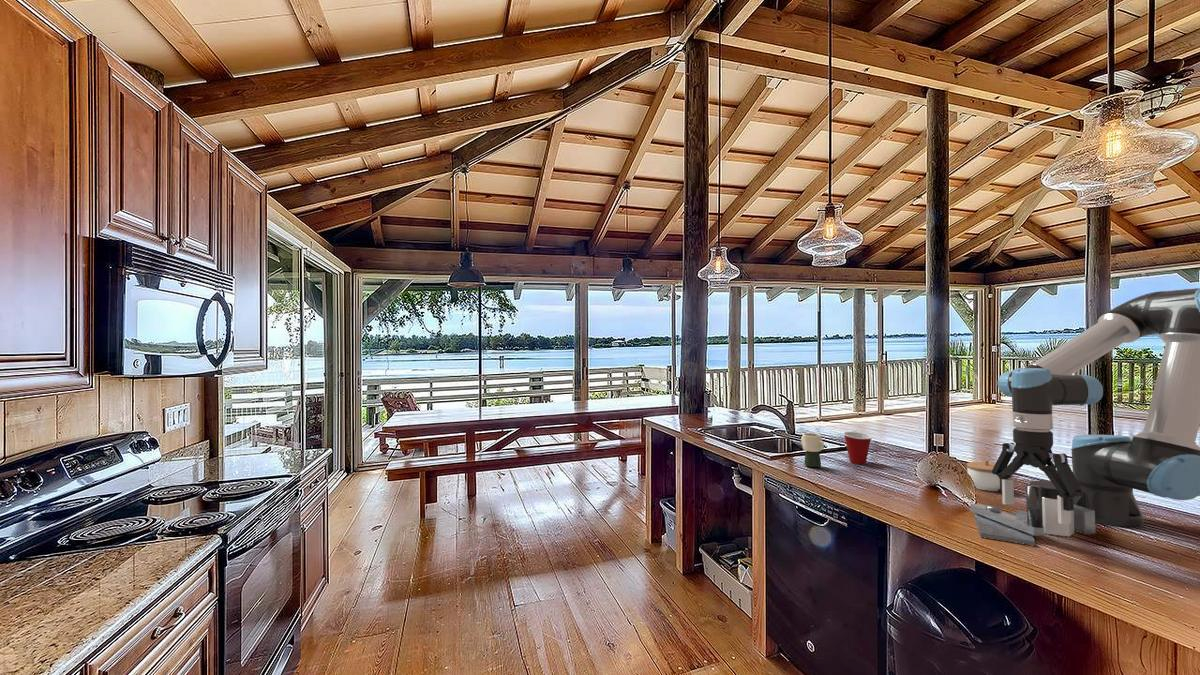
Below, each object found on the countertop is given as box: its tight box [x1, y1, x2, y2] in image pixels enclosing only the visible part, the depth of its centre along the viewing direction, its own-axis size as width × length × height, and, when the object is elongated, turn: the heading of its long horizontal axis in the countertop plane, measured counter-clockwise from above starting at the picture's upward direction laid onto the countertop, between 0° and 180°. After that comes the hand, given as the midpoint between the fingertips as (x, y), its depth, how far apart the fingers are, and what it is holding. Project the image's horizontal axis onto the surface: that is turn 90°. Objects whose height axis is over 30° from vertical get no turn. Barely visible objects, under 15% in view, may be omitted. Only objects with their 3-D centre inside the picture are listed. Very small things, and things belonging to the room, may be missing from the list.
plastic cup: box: [842, 431, 873, 465], centre depth 196 cm, size 11×11×12 cm
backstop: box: [1074, 505, 1096, 535], centre depth 127 cm, size 3×8×6 cm, turn 8°
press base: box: [972, 511, 1036, 547], centre depth 128 cm, size 10×22×1 cm, turn 146°
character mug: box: [800, 432, 825, 468], centre depth 192 cm, size 11×7×13 cm, turn 24°
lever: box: [970, 483, 1045, 537], centre depth 128 cm, size 18×5×12 cm, turn 8°
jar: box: [1029, 480, 1075, 538], centre depth 126 cm, size 9×8×12 cm
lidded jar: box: [966, 460, 1001, 492], centre depth 161 cm, size 11×11×9 cm
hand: (1034, 513), depth 120 cm, fingers open, 13 cm apart
